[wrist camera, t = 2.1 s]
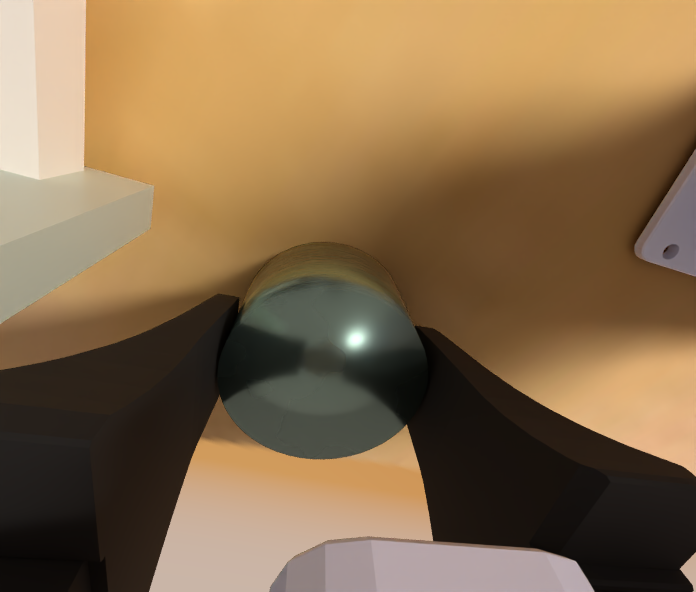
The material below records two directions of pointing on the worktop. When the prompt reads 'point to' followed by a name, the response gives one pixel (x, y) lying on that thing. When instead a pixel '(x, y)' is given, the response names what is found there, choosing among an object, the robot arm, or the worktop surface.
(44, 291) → the drawer tray
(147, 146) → the worktop surface
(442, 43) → the worktop surface
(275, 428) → the tin
